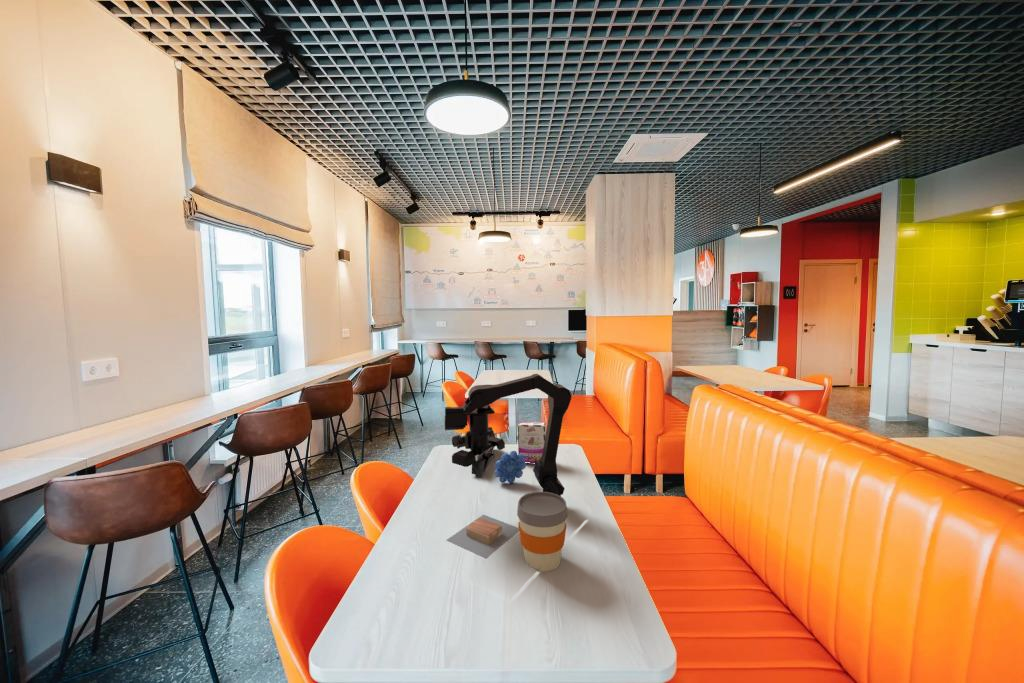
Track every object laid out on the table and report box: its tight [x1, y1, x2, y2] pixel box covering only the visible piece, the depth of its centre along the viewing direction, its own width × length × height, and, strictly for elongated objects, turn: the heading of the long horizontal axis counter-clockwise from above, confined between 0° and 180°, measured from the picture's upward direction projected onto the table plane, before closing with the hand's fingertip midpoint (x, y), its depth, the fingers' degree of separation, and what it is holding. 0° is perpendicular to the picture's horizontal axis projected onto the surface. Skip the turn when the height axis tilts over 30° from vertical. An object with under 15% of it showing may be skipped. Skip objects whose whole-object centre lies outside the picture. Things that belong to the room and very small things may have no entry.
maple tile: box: [465, 517, 502, 545], centre depth 110 cm, size 2×8×6 cm
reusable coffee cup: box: [516, 491, 568, 572], centre depth 99 cm, size 13×13×15 cm
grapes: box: [493, 450, 527, 484], centre depth 143 cm, size 12×7×12 cm, turn 96°
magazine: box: [471, 426, 496, 476], centre depth 162 cm, size 17×3×30 cm
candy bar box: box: [517, 421, 547, 463], centre depth 161 cm, size 11×5×16 cm, turn 80°
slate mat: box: [446, 514, 519, 559], centre depth 110 cm, size 16×14×1 cm
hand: (480, 477), depth 120 cm, fingers closed
